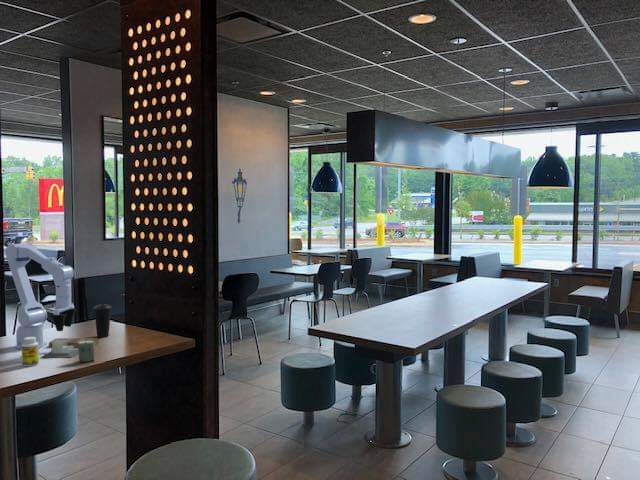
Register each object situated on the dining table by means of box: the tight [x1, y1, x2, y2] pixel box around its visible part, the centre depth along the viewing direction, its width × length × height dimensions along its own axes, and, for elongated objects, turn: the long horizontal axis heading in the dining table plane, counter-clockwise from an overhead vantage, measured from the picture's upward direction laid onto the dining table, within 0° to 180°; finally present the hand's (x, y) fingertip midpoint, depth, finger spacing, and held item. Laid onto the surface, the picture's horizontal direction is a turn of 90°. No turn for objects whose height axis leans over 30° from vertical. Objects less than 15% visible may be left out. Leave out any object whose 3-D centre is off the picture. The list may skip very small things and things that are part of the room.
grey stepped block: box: [50, 340, 75, 355], centre depth 215 cm, size 7×4×5 cm, turn 93°
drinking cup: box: [93, 292, 112, 339], centre depth 244 cm, size 8×8×20 cm
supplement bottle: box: [21, 337, 40, 367], centre depth 201 cm, size 6×6×10 cm
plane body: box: [48, 337, 99, 348], centre depth 229 cm, size 18×7×2 cm, turn 93°
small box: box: [77, 341, 95, 363], centre depth 206 cm, size 6×5×8 cm
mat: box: [41, 349, 79, 359], centre depth 215 cm, size 12×10×1 cm
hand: (63, 328), depth 219 cm, fingers open, 7 cm apart
